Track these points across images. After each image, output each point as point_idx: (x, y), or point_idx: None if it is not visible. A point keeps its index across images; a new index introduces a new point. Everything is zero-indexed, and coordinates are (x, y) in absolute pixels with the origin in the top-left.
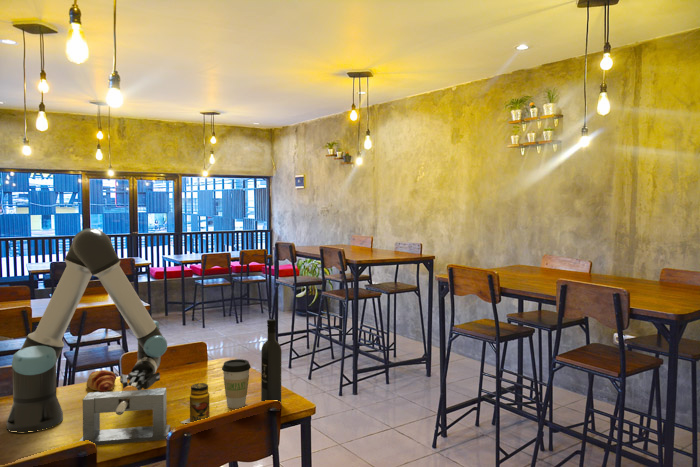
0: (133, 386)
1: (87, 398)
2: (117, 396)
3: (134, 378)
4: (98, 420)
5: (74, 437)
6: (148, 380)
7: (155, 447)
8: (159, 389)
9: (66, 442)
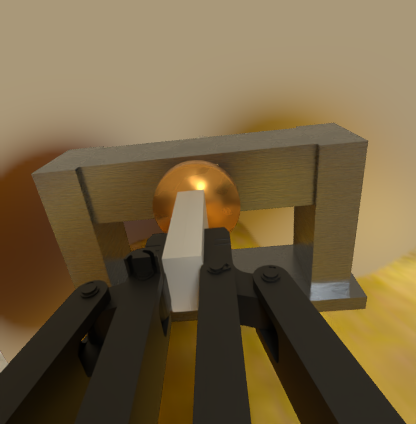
0: (173, 170)
1: (323, 126)
2: (221, 137)
3: (207, 382)
4: (308, 242)
5: (396, 297)
6: (61, 306)
7: (134, 244)
8: (65, 165)
9: (391, 271)
